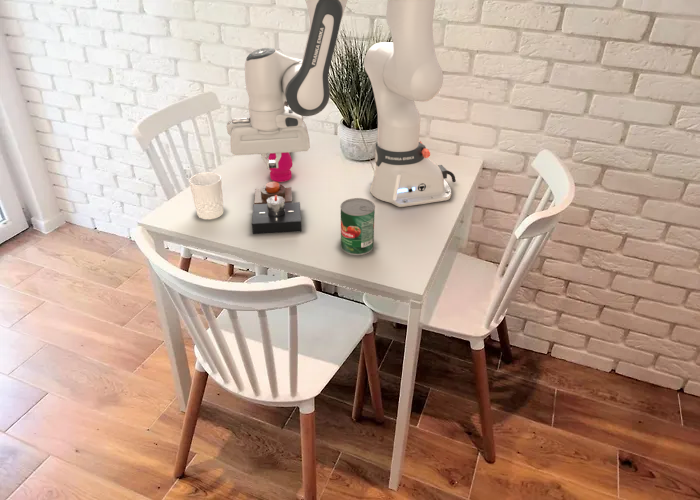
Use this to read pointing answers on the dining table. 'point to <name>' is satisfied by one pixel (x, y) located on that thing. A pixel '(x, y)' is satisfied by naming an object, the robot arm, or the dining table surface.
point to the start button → (272, 187)
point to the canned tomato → (357, 226)
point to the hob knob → (276, 206)
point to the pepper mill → (281, 168)
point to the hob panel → (276, 219)
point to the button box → (272, 194)
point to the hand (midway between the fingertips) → (272, 167)
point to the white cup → (207, 194)
